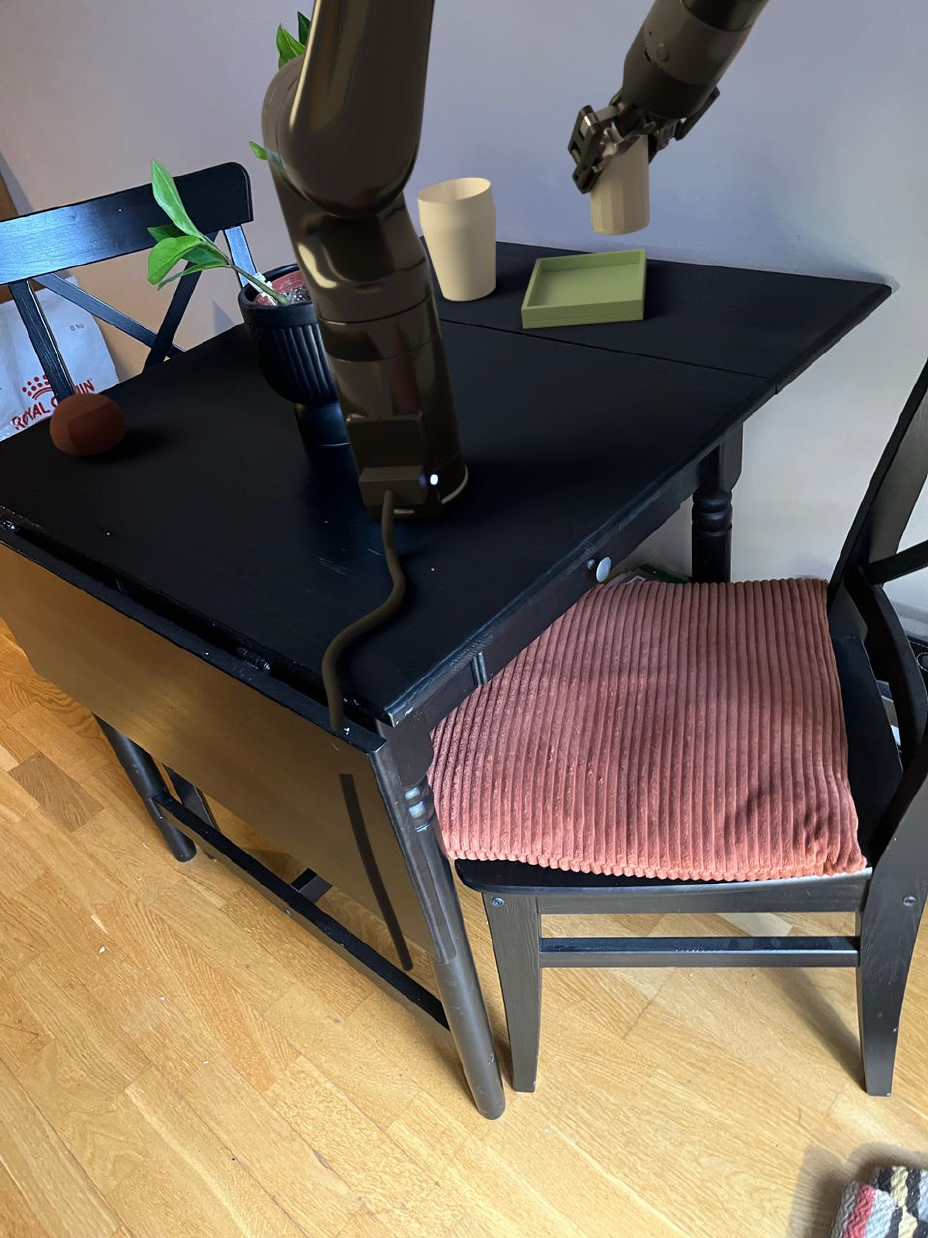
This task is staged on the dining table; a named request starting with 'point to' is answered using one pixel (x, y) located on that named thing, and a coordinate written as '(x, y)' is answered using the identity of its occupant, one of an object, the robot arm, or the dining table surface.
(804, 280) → the dining table surface
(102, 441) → the potato
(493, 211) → the cup
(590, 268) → the tray
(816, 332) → the dining table surface
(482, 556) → the dining table surface
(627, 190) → the tumbler
